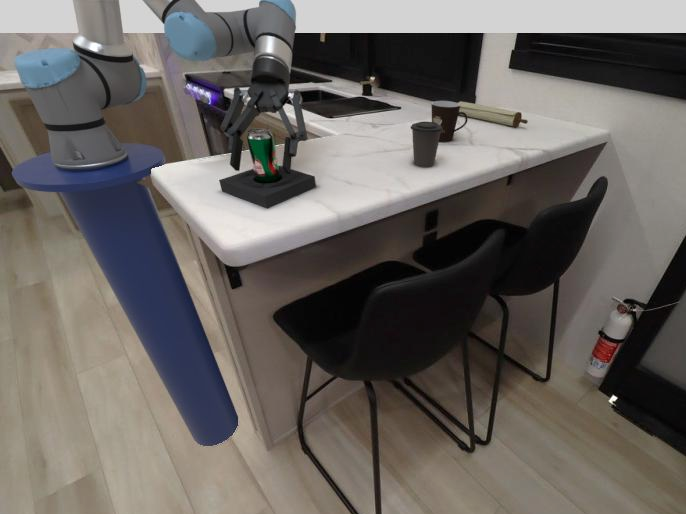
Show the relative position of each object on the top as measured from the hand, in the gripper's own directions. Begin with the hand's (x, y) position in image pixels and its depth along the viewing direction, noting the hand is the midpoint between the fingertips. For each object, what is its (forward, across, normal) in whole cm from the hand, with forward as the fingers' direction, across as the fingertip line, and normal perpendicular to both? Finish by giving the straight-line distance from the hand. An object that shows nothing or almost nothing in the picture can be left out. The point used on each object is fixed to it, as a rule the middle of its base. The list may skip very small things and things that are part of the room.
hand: (260, 169), depth 77 cm
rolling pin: (-50, -56, -58) cm, 95 cm away
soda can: (+2, 0, -6) cm, 6 cm away
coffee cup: (-14, -34, -22) cm, 42 cm away
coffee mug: (-30, -40, -38) cm, 63 cm away
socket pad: (+2, 0, -6) cm, 6 cm away
